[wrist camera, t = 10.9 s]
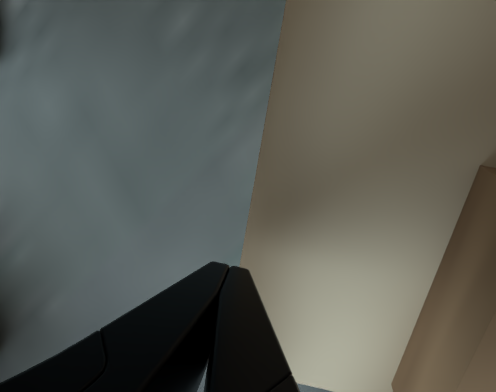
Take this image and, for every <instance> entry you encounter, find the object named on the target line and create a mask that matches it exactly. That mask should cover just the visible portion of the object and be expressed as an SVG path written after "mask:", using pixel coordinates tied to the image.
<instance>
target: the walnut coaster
mask: <svg viewBox="0 0 496 392" xmlns="http://www.w3.org/2000/svg"><path fill="white" fill-rule="evenodd" d="M391 385H392V389H393V392H496V168H493V167H488V166H483V165H480V166H479V169H478V171H477V174H476V176H475V179H474V181H473V184H472V186H471V188H470V191H469V193H468V196H467V198H466V201H465V203H464V206H463V208H462V211H461V213H460V216H459V218H458V221H457V223H456V225H455V228H454V230H453V233H452V235H451V238H450V240H449V243H448V245H447V248H446V250H445V253H444V255H443V258H442V260H441V262H440V265H439V267H438V270H437V272H436V275H435V277H434V280H433V282H432V285H431V287H430V290H429V292H428V295H427V297H426V299H425V302H424V304H423V307H422V309H421V312H420V314H419V317H418V319H417V322H416V324H415V327H414V329H413V332H412V334H411V336H410V339H409V341H408V344H407V346H406V349H405V351H404V354H403V356H402V359H401V361H400V364H399V366H398V368H397V371H396V373H395V376H394V378H393V381H392V383H391Z"/></svg>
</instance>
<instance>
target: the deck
mask: <svg viewBox="0 0 496 392" xmlns="http://www.w3.org/2000/svg"><path fill="white" fill-rule="evenodd" d="M480 165H483V166H488V167H493V168H496V0H286V4H285V10H284V16H283V22H282V27H281V33H280V39H279V44H278V50H277V56H276V62H275V67H274V73H273V79H272V84H271V90H270V96H269V101H268V107H267V113H266V119H265V124H264V130H263V136H262V141H261V147H260V153H259V159H258V164H257V170H256V176H255V181H254V187H253V193H252V199H251V204H250V210H249V216H248V221H247V227H246V233H245V238H244V244H243V250H242V256H241V261H240V267H242V268H246V269H248V270H249V271H250V273H251V276H252V278H253V280H254V283H255V285H256V288H257V290H258V292H259V295H260V297H261V300H262V302H263V304H264V307H265V309H266V312H267V314H268V316H269V319H270V321H271V324H272V326H273V328H274V331H275V333H276V336H277V338H278V340H279V343H280V345H281V348H282V350H283V352H284V355H285V357H286V360H287V362H288V364H289V367H290V369H291V372H292V376H293V377H294V378H295V381H296V383H299V384H303V385H308V386H312V387H316V388H321V389H325V390H329V391H334V392H393V389H392V385H391V383H392V381H393V378H394V376H395V373H396V371H397V368H398V366H399V364H400V361H401V359H402V356H403V354H404V351H405V349H406V346H407V344H408V341H409V339H410V336H411V334H412V332H413V329H414V327H415V324H416V322H417V319H418V317H419V314H420V312H421V309H422V307H423V304H424V302H425V299H426V297H427V295H428V292H429V290H430V287H431V285H432V282H433V280H434V277H435V275H436V272H437V270H438V267H439V265H440V262H441V260H442V258H443V255H444V253H445V250H446V248H447V245H448V243H449V240H450V238H451V235H452V233H453V230H454V228H455V225H456V223H457V221H458V218H459V216H460V213H461V211H462V208H463V206H464V203H465V201H466V198H467V196H468V193H469V191H470V188H471V186H472V184H473V181H474V179H475V176H476V174H477V171H478V169H479V166H480Z"/></svg>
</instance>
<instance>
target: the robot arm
mask: <svg viewBox="0 0 496 392" xmlns="http://www.w3.org/2000/svg"><path fill="white" fill-rule="evenodd" d="M207 364H208V366H207ZM206 367H207V372H206V379H205V386H204V392H300V390H299V388H298V386H297V383H296V381H295V378H294V377H293V376H292V372H291V369H290V367H289V364H288V362H287V360H286V357H285V355H284V352H283V350H282V348H281V345H280V343H279V340H278V338H277V336H276V333H275V331H274V328H273V326H272V324H271V321H270V319H269V316H268V314H267V312H266V309H265V307H264V304H263V302H262V300H261V297H260V295H259V292H258V290H257V288H256V285H255V283H254V280H253V278H252V276H251V273H250V271H249V270H248V269H246V268H242V267H237V266H231V267H229V265H227V264H223V263H218V262H210V263H208V264H206V265H205V266H203V267H202V268H200V269H198V270H197V271H195V272H193V273H192V274H190V275H188V276H187V277H185V278H183V279H182V280H180V281H178V282H177V283H175V284H174V285H172V286H170V287H169V288H167V289H165V290H164V291H162V292H160V293H159V294H157V295H155V296H154V297H152V298H150V299H149V300H147V301H145V302H144V303H142V304H141V305H139V306H137V307H136V308H134V309H132V310H131V311H129V312H127V313H126V314H124V315H122V316H121V317H119V318H117V319H116V320H114V321H113V322H111V323H109V324H108V325H106V326H104V327H103V328H101V329H100V331H96V332H94V333H92V334H91V335H89V336H88V337H86V338H84V339H83V340H81V341H79V342H77V343H76V344H74V345H72V346H70V347H69V348H67V349H65V350H63V351H62V352H60V353H58V354H56V355H55V356H53V357H51V358H49V359H47V360H45V361H43V362H41V363H39V364H37V365H35V366H33V367H31V368H29V369H28V370H26V371H24V372H22V373H20V374H18V375H16V376H14V377H11V378H9V379H7V380H5V381H3V382H1V383H0V392H197V390H198V388H199V385H200V383H201V380H202V378H203V375H204V372H205V370H206Z"/></svg>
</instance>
